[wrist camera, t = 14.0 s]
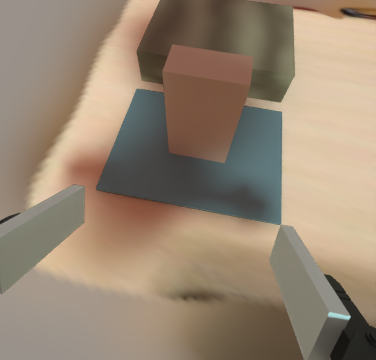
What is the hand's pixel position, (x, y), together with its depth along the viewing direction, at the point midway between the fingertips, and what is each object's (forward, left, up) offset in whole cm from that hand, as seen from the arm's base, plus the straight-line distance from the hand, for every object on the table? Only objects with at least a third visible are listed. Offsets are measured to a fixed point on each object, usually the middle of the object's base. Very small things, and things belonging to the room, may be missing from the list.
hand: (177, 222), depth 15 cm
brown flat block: (0, -26, -6) cm, 27 cm away
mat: (0, -10, -6) cm, 12 cm away
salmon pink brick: (0, -10, -6) cm, 12 cm away
